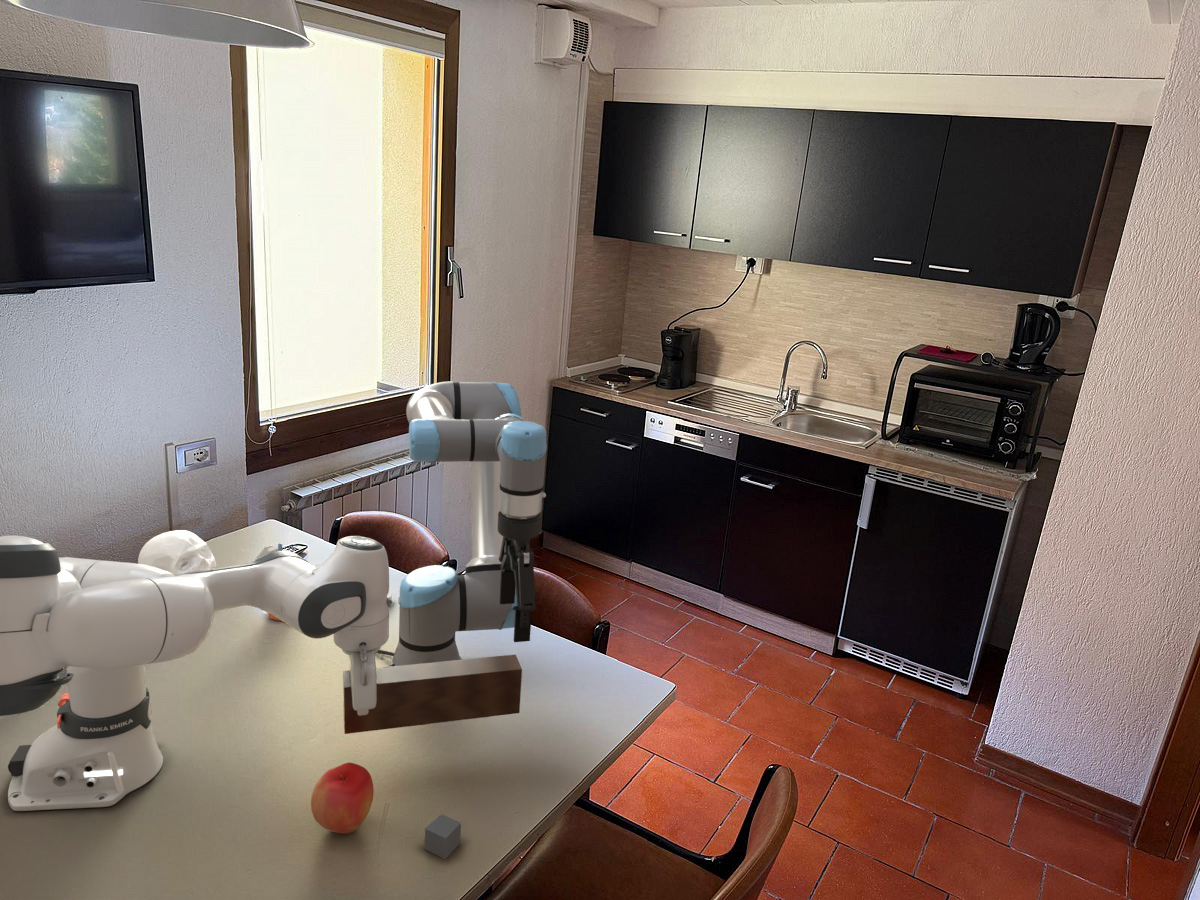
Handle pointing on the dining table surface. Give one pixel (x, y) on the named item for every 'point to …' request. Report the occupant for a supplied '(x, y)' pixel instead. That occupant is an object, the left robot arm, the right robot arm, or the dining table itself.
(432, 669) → the walnut bar
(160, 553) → the skull
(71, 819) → the dining table surface
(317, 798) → the apple
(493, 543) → the right robot arm
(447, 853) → the grey block
